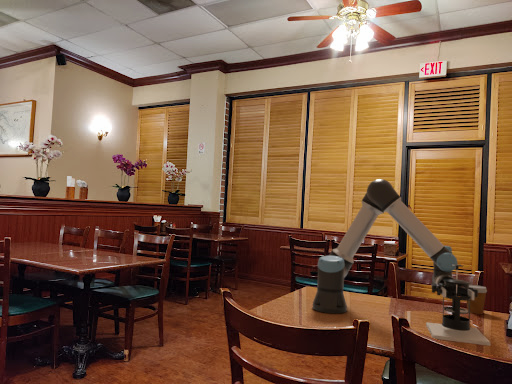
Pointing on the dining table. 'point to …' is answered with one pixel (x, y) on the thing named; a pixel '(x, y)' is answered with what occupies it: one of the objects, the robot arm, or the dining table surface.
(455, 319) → the french press
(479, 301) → the disposable coffee cup
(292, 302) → the dining table surface
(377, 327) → the dining table surface
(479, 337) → the ceramic trivet
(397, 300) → the dining table surface
